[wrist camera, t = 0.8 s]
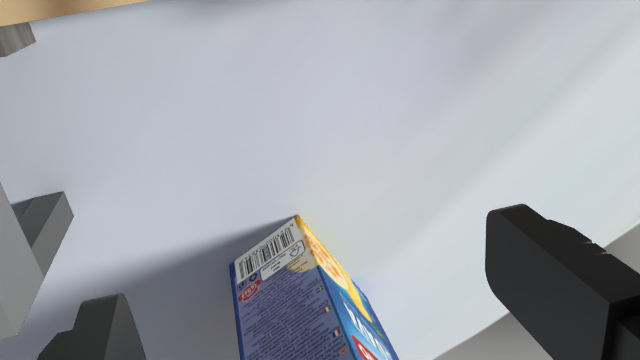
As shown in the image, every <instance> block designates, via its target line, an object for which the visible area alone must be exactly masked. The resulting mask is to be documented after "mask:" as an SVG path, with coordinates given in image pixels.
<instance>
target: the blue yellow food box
mask: <svg viewBox="0 0 640 360" xmlns="http://www.w3.org/2000/svg"><path fill="white" fill-rule="evenodd" d="M229 268H230V277H231V285H232V294H233V302H234V311H235V319H236V327H237V336H238V344H239V353H240V360H399V358H398V357H397V355H396V353H395V351H394V349H393V347H392V345H391V343H390V341H389V339H388V337H387V335H386V333H385V332H384V330H383V328H382V326H381V324H380V322H379V320H378V318H377V316H376V314H375V312H374V310H373V308H372V307H371V305H370V303H369V301H368V299H367V297H366V296H365V295H364V294H363V292H362V291H361V290H360V289H359V288H358V286H357V285H356V284H355V283H354V282H353V280H352V279H351V278H350V277H349V276H348V274H347V273H346V272H345V271H344V270H343V268H342V267H341V266H340V265H339V264H338V262H337V261H336V260H335V259H334V257H333V256H332V255H331V254H330V253H329V251H328V250H327V249H326V248H325V247H324V245H323V244H322V243H321V242H320V241H319V239H318V238H317V237H316V236H315V235H314V233H313V232H312V231H311V230H310V229H309V227H308V226H307V225H306V224H305V223H304V221H303V220H302V219H301V218H300V216H299V215H297V216H295V217H294V218H292V219H291V220H290V221H288V222H287V223H286V224H284V225H283V226H281V227H280V228H279V229H277V230H276V231H275V232H273V233H272V234H271V235H269V236H268V237H266V238H265V239H264V240H262V241H261V242H260V243H258V244H257V245H255V246H254V247H253V248H251V249H250V250H249V251H247V252H246V253H244V254H243V255H242V256H240V257H239V258H238V259H236V260H235V261H233V262H232V263H231V264H229Z"/></svg>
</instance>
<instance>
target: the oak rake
mask: <svg viewBox="0 0 640 360" xmlns="http://www.w3.org/2000/svg"><path fill="white" fill-rule="evenodd" d="M143 1H149V0H0V57H5V56H8V55H10V54H12V53H14V52H16V51H18V50H20V49H22V48H24V47H26V46H28V45H30V44H32V43H34V42H36V41H35V38H34V35H33V33H32V30H31V27H30V25H29V21H35V20H40V19H46V18H52V17H57V16H63V15H69V14H75V13H80V12H86V11H92V10H98V9H103V8H109V7H115V6H120V5H126V4H132V3H138V2H143Z"/></svg>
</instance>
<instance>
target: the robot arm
mask: <svg viewBox="0 0 640 360" xmlns="http://www.w3.org/2000/svg"><path fill="white" fill-rule="evenodd" d="M485 272H486V277H487V281H488V283H489V286H490V288H491V290H492V292H493V293H494V295H495V296H496V297H497V298H498V299H499V300H500V301H501V302H502V304H503V305H504V306H505V307H506V308H507V309H508V310H509V311H510V312H511V313H512V314H513V316H514V317H515V318H516V319H517V320H518V321H519V322H520V323H521V324H522V325H523V326H524V328H525V329H526V330H527V331H528V332H529V333H530V334H531V335H532V337H533V338H534V339H535V340H536V341H537V342H538V343H539V344H540V345H541V346H542V347H543V349H544V350H545V351H546V352H547V353H548V354H549V355H550V356H551V357H552V358H553V359H554V360H640V274H639V273H637V272H636V271H634V270H633V269H631V268H630V267H629V266H627V265H626V264H624V263H623V262H622V261H620V260H619V259H617V258H616V257H614V256H613V255H611V254H607V251H606V250H604V249H603V248H601V247H600V246H599V245H597V244H596V243H594V244H593V243H592V241H591V240H590V239H589V238H587V237H586V236H584V235H583V234H581V233H580V232H578V231H577V230H576V229H574V228H572V227H569V226H566V225H564V224H561V223H558V222H556V221H553V220H546V219H545V218H544V217H542V216H541V215H539V214H538V213H537V212H535V211H534V210H533V209H531V208H530V207H528V206H527V205H525V204H518V205H513V206H509V207H505V208H500V209H496V210H492V211H490V212H489V213H488V215H487V219H486V253H485ZM37 360H146V356H145V352H144V349H143V346H142V343H141V340H140V337H139V334H138V331H137V328H136V325H135V322H134V319H133V317H132V314H131V311H130V308H129V305H128V302H127V299H126V297H125V296H124V294H122V293H119V294H114V295H110V296H105V297H101V298H96V299H92V300H88V301H84V302H82V304H81V306H80V308H79V312H78V315H77V318H76V321H75V324H74V327H73V330H69V331H65V332H61V333H58V334H57V335H56V336H55V337H54V338H53V339H52V340H51V342H50V343H49V344H48V345H47V346H46V347H45V348H44V350H43V351H42V352H41V353H40V354H39V356H38V359H37Z"/></svg>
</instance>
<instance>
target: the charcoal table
mask: <svg viewBox="0 0 640 360" xmlns="http://www.w3.org/2000/svg"><path fill="white" fill-rule="evenodd" d="M73 217H74V215H73V213H72V210H71V208H70V206H69V203H68V201H67V198H66V196H65V193H64V191H63V192H59V193H54V194H50V195H45V196H41V197H36V198H34V199H33V200H32V201H31V203H30V204H29V206H28V207H27V209H26V210H25V212H24V213H23V215H22V216H21V218H20V219H19V221H18V220H17V218H16V216H15V213H14V211H13V209H12V207H11V205H10V203H9V200H8V198H7V196H6V194H5V192H4V189H3V187H2V185H1V183H0V340H2V339H6V338H10V337H13V336H17V335H18V333H19V331H20V329H21V327H22V325H23V322H24V320H25V318H26V316H27V314H28V312H29V310H30V308H31V306H32V303H33V301H34V299H35V297H36V295H37V293H38V291H39V289H40V287H41V284H42V282H43V280H44V278H45V276H46V274H47V272H48V270H49V268H50V265H51V263H52V261H53V259H54V257H55V255H56V253H57V251H58V249H59V246H60V244H61V242H62V240H63V238H64V236H65V234H66V232H67V230H68V227H69V225H70V223H71V221H72V219H73Z"/></svg>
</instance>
